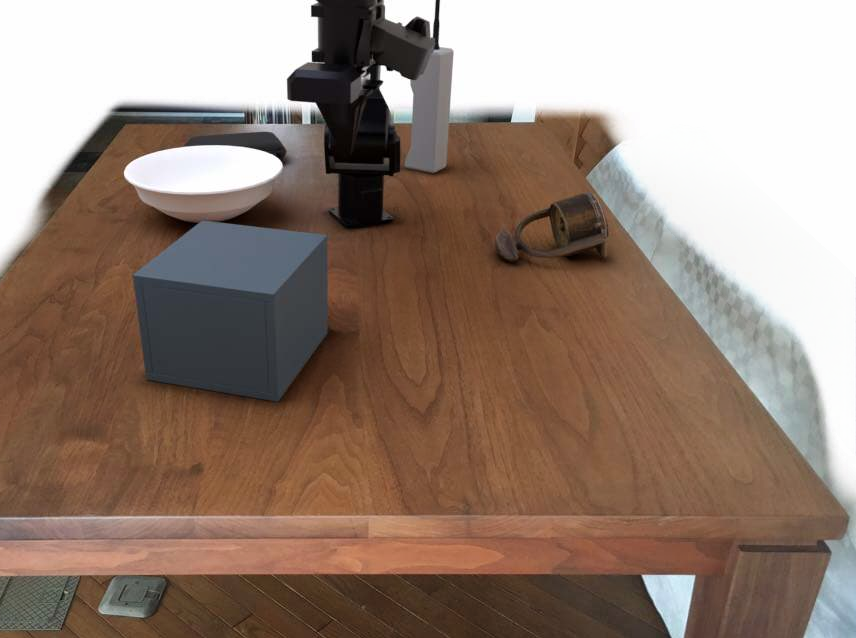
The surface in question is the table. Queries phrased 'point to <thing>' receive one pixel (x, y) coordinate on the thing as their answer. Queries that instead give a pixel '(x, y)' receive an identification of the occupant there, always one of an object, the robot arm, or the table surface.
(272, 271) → the cabinet
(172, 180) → the bowl
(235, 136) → the carrying case
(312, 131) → the table surface
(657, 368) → the table surface
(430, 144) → the vintage mobile phone
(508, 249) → the brass cylinder with loop
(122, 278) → the table surface
